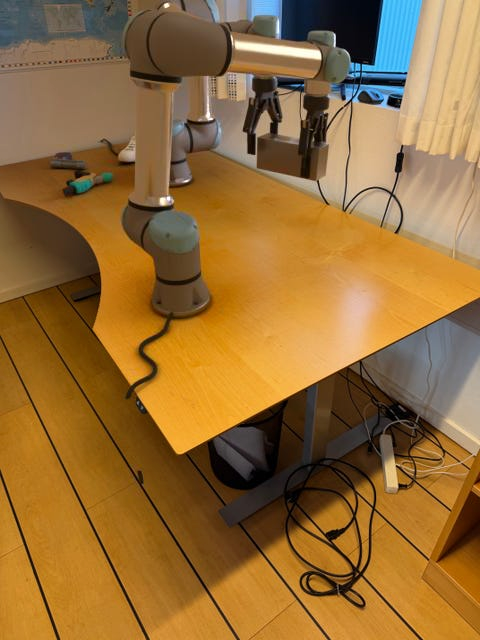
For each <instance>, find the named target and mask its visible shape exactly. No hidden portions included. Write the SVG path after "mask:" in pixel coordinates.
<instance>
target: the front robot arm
mask: <svg viewBox="0 0 480 640" xmlns="http://www.w3.org/2000/svg"><path fill="white" fill-rule="evenodd" d="M121 37H122V38H121V39H122V43H121V44H122V48H123V50H124V54H125V56H126V58H127V60H128V61H129V79H131V81H132V82H133V83H134V84H135V88H136V95H135V96H136V100H135V101H136V102H135V103H136V104H135V132H136V145H135V162H134V190H133V191H132V192H131V193H129V194H128V198H127V204H126V206H124V207H123V209H122V211H121V215H120V216H121V217H120V220H121V226H122V230H123V232H124V233H125V234H126V236H127V237H128V239H129V240H130V241H132V242H133V244H135V245H137V246H138V247H140V249H142V250H143V251H144V252H145V253H146V254H148V255H149V256H150V257H151V258H152V260H153V261H152V262H153V268H154V274H155V275H154V276H155V281H154V284H153V290H152V294H151V305H152V308H153V310H154V311H155V312H156V313H157V314H159V315H160V316H163V317H167V319H166V321H165V323H164V326H163V328H162V329H161V330H160V331H159V332H157V333H155V334H153V335H151V336H150V337H147V338H145V339H144V340H142V341H141V342H140V344H139V346H138V353H139V355H140V357H141V358H142V359H144V360H145V361H146V362H147V363H149V364H150V365H151V368H152V371H151V372H150V373H149V374H148V375H146V376H144V377H142V378H140V379H137V381H135V382H134V383H132V384H131V385H130V387H129V388H128V390H127V391H126V394H125V400H130V399H131V397H132V394H133V393H134V391H135V390H136V389H137V387H139V386H140V385H142V384H145V383H146V382H149V381H150V380H152V379H153V378H155V376H156V375H157V373H158V365H157V363H156V362H155V361H154V360H153V359H152V358H151V357H150V356H148V355H147V354H146V353H145V352H144V347H145V346H146V345H147V344H149V343H151V342H152V341H155V340H156V339H158V338H160V337H162V336H163V335H164V334H165V333H166V332H167V331H168V329H169V327H170V324H171V321H172V319H183V318H185V319H186V318H190V317H194V316H196V315H199V314H201V313H202V312H204V311H205V310H207V308H208V307H209V306H210V303H211V292H210V290H209V288H208V286H207V284H206V281H205V278H204V277H203V275H202V262H201V261H202V259H201V247H200V246H201V243H200V240H201V236H200V235H201V234H200V230H199V226H198V222H197V220H196V218H194V217H193V216H192V215H190V214H189V213H187V212H185V211H178V210H175V198H174V197H173V196H172V195H171V194H170V187H169V178H170V160H171V143H172V125H173V120H174V106H175V92H176V90H177V89H178V88H180V86H181V85H182V83H183V78H188V77H191V76H211V77H215V78H216V77H217V78H221V77H224V76H225V75H226V74H227V73H233V74H243V75H252V74H254V75H265V76H275V77H276V78H277V77H278V78H288V79H297V80H298V79H300V80H304V81H303V83H304V88H303V92H304V95H303V99H302V109H304V110H306V115H305V119H301V120H300V131H299V138H300V139H299V147H298V155H299V156H302V158H301V172H300V177H303V178H309V172H310V160H311V156H309V155H310V151H311V146H312V142H313V141H318V142H323V143H327V135H328V120H329V115H330V113H329V112H326V111H327V110H329V108H330V103H331V102H330V99H331V96H330V94H331V92H332V84H340V83H342V82H343V81H344V80H345V79H346V78H347V76H348V74H349V72H350V68H351V63H352V62H351V56H350V53H349V52H348V51H347V50H346V49H344V48H340V47H338V46H336V33H334V32H333V31H332V30H331V31H330V30H311V31H309V32H308V33H307V39H306V40H304V41H294V40H289V39H288V40H287V39H283V38H282V39H281V38H279V39H275V38H269V37H262V36H256V35H249V34H243V33H236V32H230V30H229V29H228V27H227V26H225V25H221V24H216V23H211V22H208V21H204V20H201V19H198V18H195V17H192V16H189V15H186V14H183V13H179V12H167V11H159V10H156V9H155V10H154V8H152V9H151V8H149V9H147V10H140V11H138V12H136V13H134V14H133V15H132V16H131V17H130V18H129V19H128V20H127V22H126V24H125V25H124V28H123V31H122V36H121ZM303 178H302V179H303ZM136 473H137V477H138V478H137V479H138V482H139V485H143V484H144V483H145V482H144V476H143V471H142V470H139V469H138V470H136Z"/></svg>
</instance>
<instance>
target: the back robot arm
mask: <svg viewBox="0 0 480 640" xmlns="http://www.w3.org/2000/svg"><path fill="white" fill-rule="evenodd" d="M155 9H156V10H159V11H167V12H179V13H183V14H186V15H189V16H192V17H195V18H198V19H201V20H204V21H208V22H211V23H216V24H221V25H225V26H227V27H228V29H229V30H230V32H236V33H243V34H249V35H256V36H262V37H269V38H275V39H280V32H281V31H280V19H279V17H278V16H277V15H273V14H257V15H254V16H253V18H252V20H249V19H239V20H237V21H223V22H221V21H220V12H219V8H218V5H217V3H216V0H158V1H157V2H156V4H155V5H154V8H153V10H155ZM251 75H252V76H253V77H251V90H252V92H254V97H249V98H248V105H247V110H246V115H245V117H244V122H243V126H242V132H243V133H245V134H246V154H247V155H250V156H255V155H256V156H257V133H256V129H257V128H258V127H257V126H258V124H259V122H260V119H261V116H262V114H264V112H265V111H266V112H267V114H268V116H269V119H270V122H269V133H272V134H278V135H279V124H281V123H283V120H282V119H283V118H284V116H283V111H282V107H281V102H280V91H279V90H278V89H277V88H278V78H277V77H276V76H265V75H254V74H251ZM211 77H212V76H191V77H187V78H188V80H187V81H188V82H187V83H188V95H189V97H188V99H189V113H188V114H187V115H186V122H184V121H183V120H182V119H177V118H176V119H173V125H172V143H171V160H170V178H169V188H179V187H183V186H187V185H190V184H191V183H192V182H193V174H192V172H191V170H190V169H191V168H190V166H189V164H188V160H187V154H195V153H200V152H208V151H209V152H210V151H211V150H212V151H213V150H216V148H218V147H219V145H220V144H221V140H222V128H221V123H220V121H219V120H218V119H217V118H216V115H215V114H214V113H213V111H212V79H211ZM102 139H103V140H102ZM102 139H101V140H100V142H101V143H102V142H106V143H107V144H108V145H109V149H110V152H112V153H113V154H114V155H116V156H117V157H118V155H119V153H118V152H116V151H115V150H114V149H113V144H112V143H111V141H109V140H108V139H106V138H102Z"/></svg>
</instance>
